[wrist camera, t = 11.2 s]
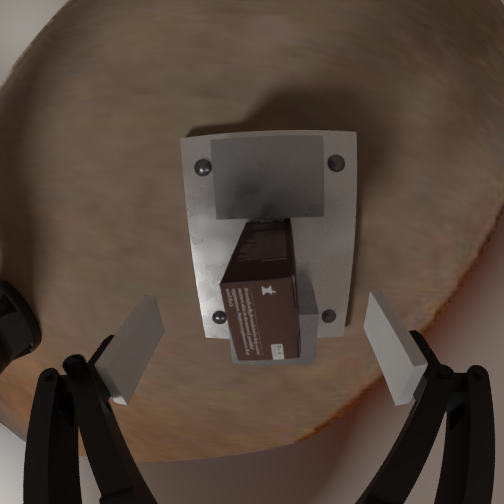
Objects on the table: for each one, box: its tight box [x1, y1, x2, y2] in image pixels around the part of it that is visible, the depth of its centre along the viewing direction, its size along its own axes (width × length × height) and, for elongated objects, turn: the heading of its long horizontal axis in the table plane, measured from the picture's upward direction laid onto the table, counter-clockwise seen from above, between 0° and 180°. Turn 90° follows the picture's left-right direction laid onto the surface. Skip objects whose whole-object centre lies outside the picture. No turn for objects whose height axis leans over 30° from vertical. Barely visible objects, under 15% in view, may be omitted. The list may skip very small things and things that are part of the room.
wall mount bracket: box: [180, 130, 357, 365], centre depth 24 cm, size 16×22×6 cm
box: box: [219, 218, 301, 361], centre depth 21 cm, size 6×4×12 cm
